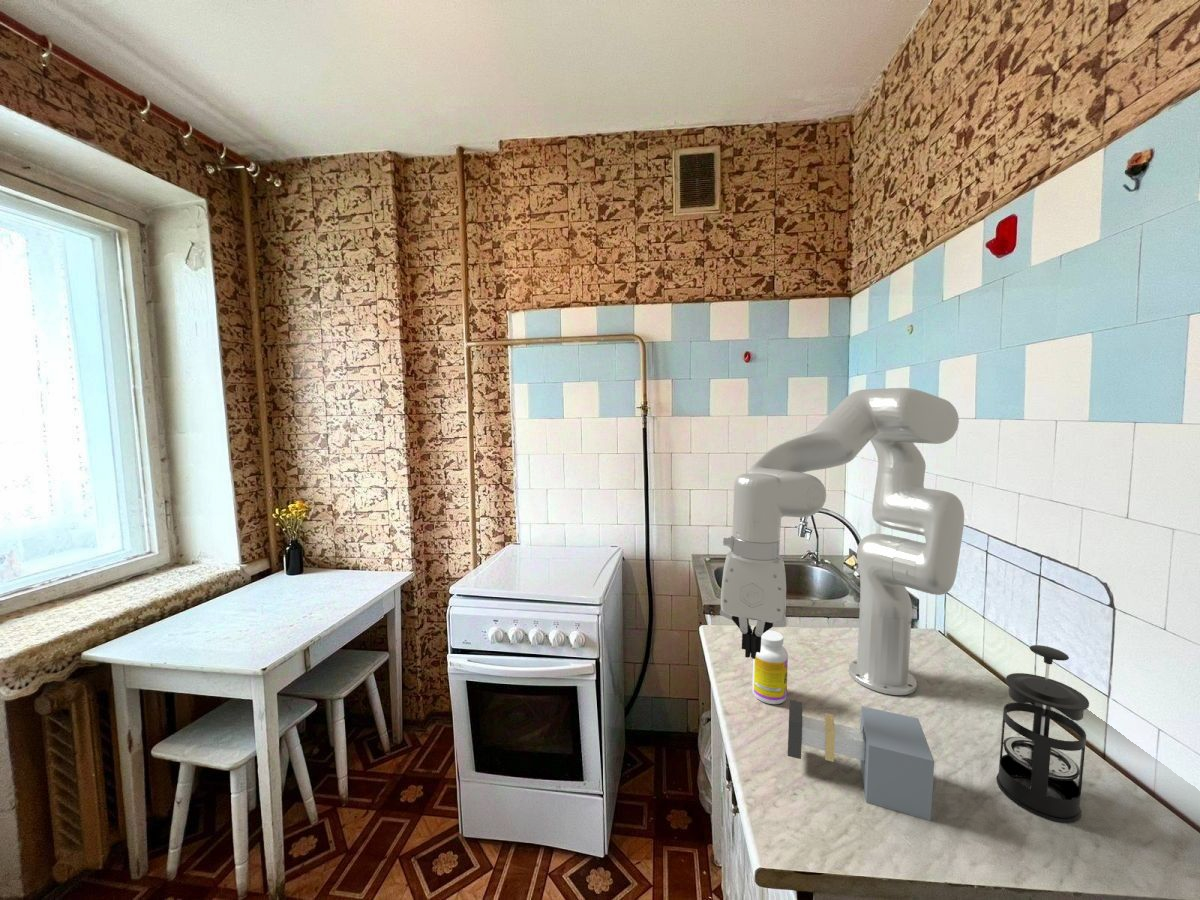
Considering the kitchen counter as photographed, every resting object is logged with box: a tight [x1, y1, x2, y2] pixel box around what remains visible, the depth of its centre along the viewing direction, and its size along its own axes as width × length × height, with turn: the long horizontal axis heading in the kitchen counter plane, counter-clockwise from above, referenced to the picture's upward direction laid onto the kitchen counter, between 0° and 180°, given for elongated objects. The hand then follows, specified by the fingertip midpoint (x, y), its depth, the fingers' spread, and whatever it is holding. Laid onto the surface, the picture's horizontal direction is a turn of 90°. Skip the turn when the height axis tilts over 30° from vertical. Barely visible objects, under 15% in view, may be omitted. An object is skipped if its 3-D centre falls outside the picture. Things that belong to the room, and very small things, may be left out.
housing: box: [858, 705, 935, 822], centre depth 72 cm, size 10×8×9 cm
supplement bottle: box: [751, 629, 789, 705], centre depth 95 cm, size 7×7×13 cm
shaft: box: [787, 699, 866, 763], centre depth 75 cm, size 6×14×6 cm, turn 67°
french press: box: [995, 644, 1090, 824], centre depth 70 cm, size 12×9×23 cm
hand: (751, 654), depth 79 cm, fingers closed
